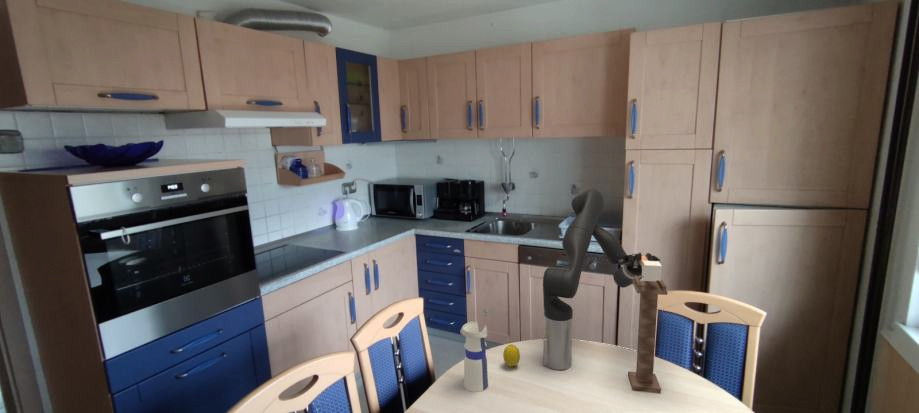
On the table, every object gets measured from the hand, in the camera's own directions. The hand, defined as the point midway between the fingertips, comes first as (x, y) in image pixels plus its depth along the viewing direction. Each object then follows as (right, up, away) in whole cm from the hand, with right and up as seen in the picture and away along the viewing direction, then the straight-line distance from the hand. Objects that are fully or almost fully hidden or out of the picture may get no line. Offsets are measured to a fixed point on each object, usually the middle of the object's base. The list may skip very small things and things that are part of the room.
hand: (644, 255), depth 133 cm
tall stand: (-1, -39, -2) cm, 39 cm away
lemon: (-40, -39, +10) cm, 57 cm away
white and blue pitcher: (-53, -41, +1) cm, 67 cm away
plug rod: (-1, -4, -4) cm, 5 cm away
